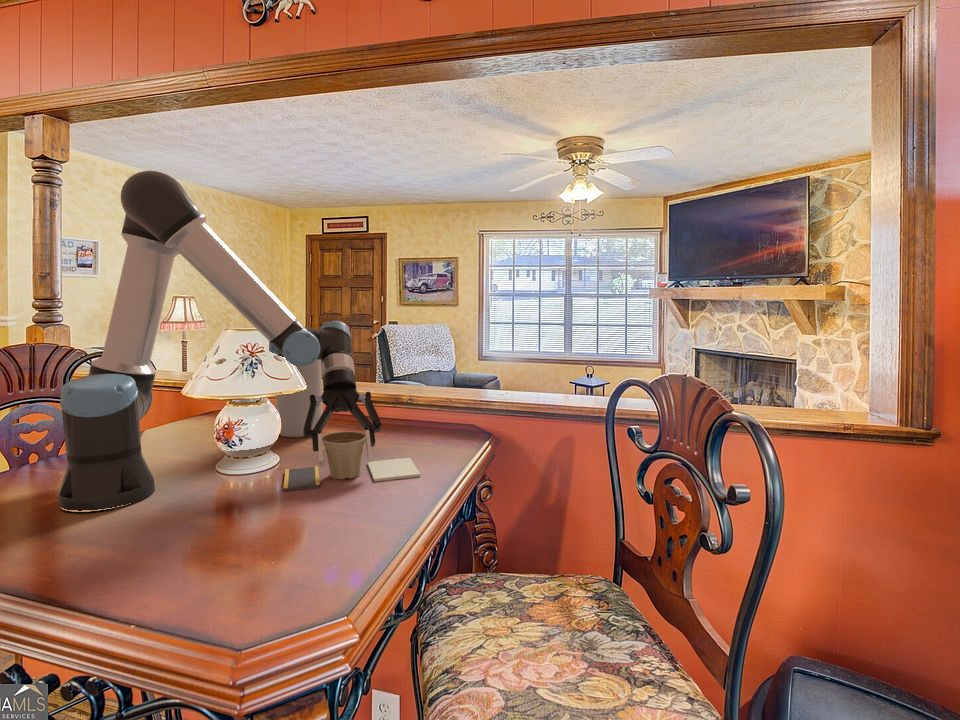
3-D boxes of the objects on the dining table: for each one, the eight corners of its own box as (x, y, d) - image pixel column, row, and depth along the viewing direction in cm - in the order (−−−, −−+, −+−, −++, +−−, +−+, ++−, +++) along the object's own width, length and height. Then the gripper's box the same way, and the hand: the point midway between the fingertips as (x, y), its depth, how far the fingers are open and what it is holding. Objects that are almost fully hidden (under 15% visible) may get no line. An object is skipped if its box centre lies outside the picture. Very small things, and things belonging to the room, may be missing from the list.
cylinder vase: (267, 436, 145) (263, 347, 142) (295, 425, 157) (292, 343, 154) (306, 439, 141) (302, 349, 138) (331, 429, 153) (329, 345, 150)
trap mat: (283, 491, 104) (283, 488, 104) (285, 472, 115) (285, 469, 115) (319, 487, 106) (319, 484, 106) (318, 469, 118) (318, 466, 117)
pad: (374, 481, 110) (374, 478, 110) (367, 464, 121) (367, 461, 121) (420, 476, 113) (420, 473, 113) (409, 460, 124) (409, 457, 124)
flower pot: (361, 483, 109) (360, 443, 108) (316, 482, 109) (315, 442, 108) (371, 468, 118) (370, 431, 117) (330, 467, 118) (329, 431, 117)
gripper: (384, 383, 130) (395, 464, 117) (290, 388, 123) (291, 474, 110) (386, 365, 124) (399, 448, 111) (288, 369, 117) (289, 457, 104)
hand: (345, 461), depth 110 cm, fingers closed on flower pot, 9 cm apart
